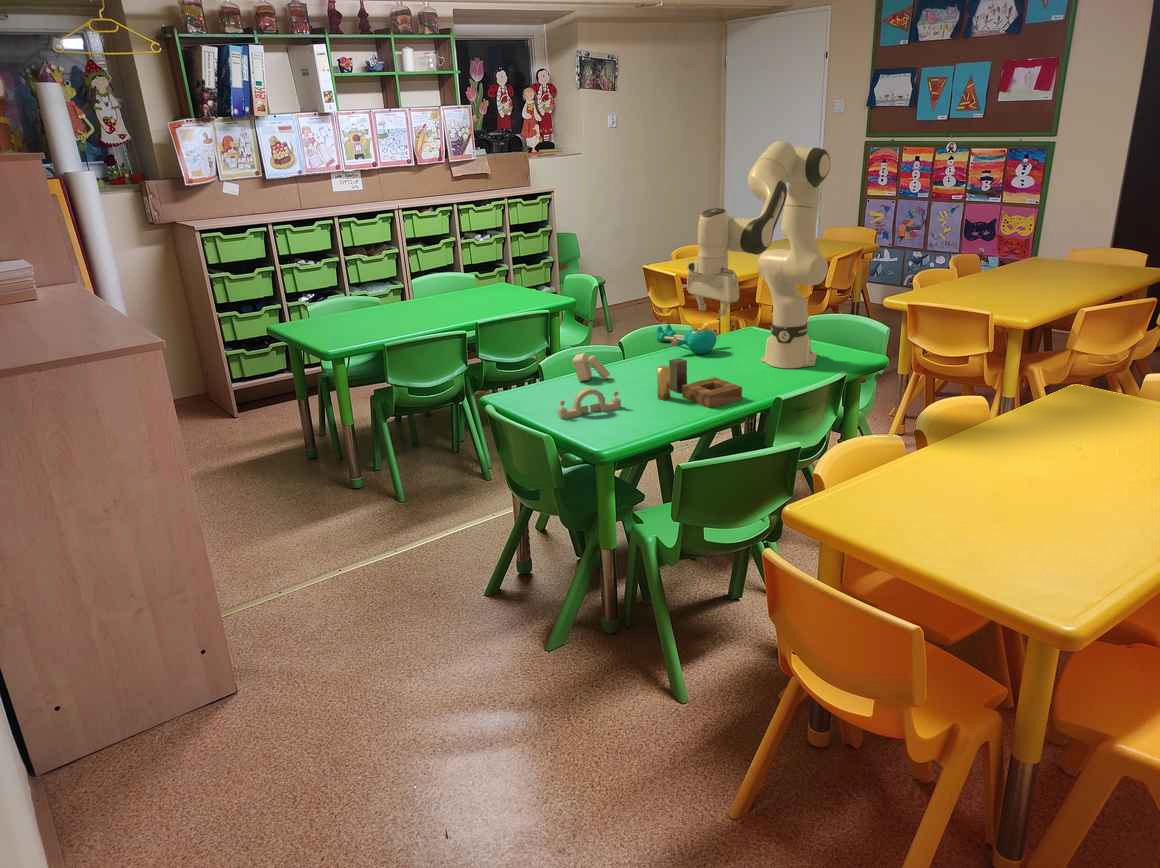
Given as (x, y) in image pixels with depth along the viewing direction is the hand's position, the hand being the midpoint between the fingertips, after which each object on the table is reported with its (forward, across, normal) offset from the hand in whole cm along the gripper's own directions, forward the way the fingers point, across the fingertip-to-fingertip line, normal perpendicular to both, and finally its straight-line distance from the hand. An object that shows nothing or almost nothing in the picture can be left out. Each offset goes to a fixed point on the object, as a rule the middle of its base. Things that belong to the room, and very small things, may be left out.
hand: (712, 312), depth 242 cm
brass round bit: (+27, +10, +11) cm, 31 cm away
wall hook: (+27, +41, +18) cm, 53 cm away
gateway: (+28, +14, +37) cm, 48 cm away
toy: (+28, +53, -31) cm, 67 cm away
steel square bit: (+27, +13, +3) cm, 30 cm away
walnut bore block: (+27, 0, 0) cm, 27 cm away
